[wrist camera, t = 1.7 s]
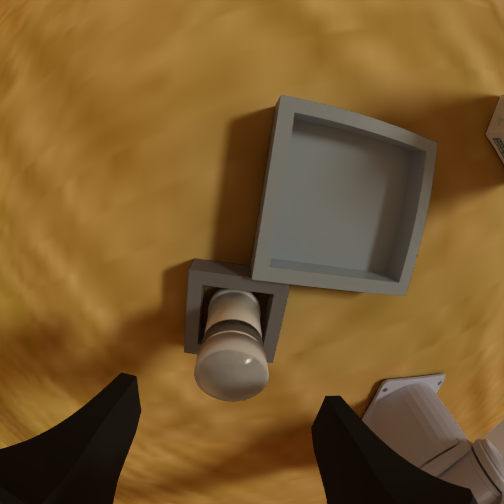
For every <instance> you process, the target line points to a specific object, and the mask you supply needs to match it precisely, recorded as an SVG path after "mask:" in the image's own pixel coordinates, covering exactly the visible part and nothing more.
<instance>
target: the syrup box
mask: <svg viewBox="0 0 504 504" xmlns="http://www.w3.org/2000/svg"><path fill="white" fill-rule="evenodd" d="M485 135H486V137H487V138H488V140H489V141H491V143H492V145H493V146H494V148H495V150H496V152H497V153H498V155H499V157H500V158H501V160H502V162H503V164H504V95H501V96H500V98H499V101H498V103H497V105H496V108H495V111H494V113H493V116H492V119H491V121H490V124H489V126H488V129H487V132H486V134H485Z"/></svg>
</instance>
